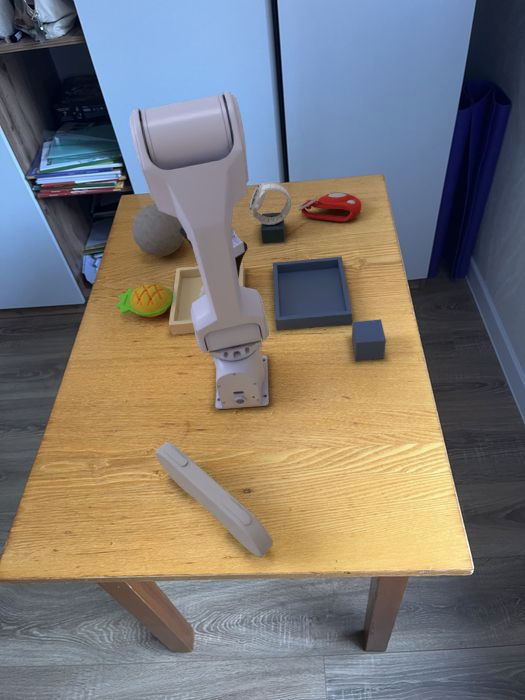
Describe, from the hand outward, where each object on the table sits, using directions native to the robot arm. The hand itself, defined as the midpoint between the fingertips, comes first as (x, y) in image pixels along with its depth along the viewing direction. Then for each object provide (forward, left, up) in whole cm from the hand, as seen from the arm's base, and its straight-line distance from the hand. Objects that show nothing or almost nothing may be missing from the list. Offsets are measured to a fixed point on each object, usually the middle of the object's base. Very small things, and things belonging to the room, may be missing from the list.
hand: (219, 269), depth 88 cm
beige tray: (-1, +3, -6) cm, 7 cm away
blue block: (-15, -23, -6) cm, 28 cm away
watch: (+17, -9, -6) cm, 20 cm away
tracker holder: (+23, -21, -6) cm, 32 cm away
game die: (-1, +3, -6) cm, 7 cm away
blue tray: (-2, -15, -6) cm, 17 cm away
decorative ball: (+15, +13, -6) cm, 21 cm away
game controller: (-40, 0, -6) cm, 41 cm away
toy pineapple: (-2, +14, -6) cm, 15 cm away
